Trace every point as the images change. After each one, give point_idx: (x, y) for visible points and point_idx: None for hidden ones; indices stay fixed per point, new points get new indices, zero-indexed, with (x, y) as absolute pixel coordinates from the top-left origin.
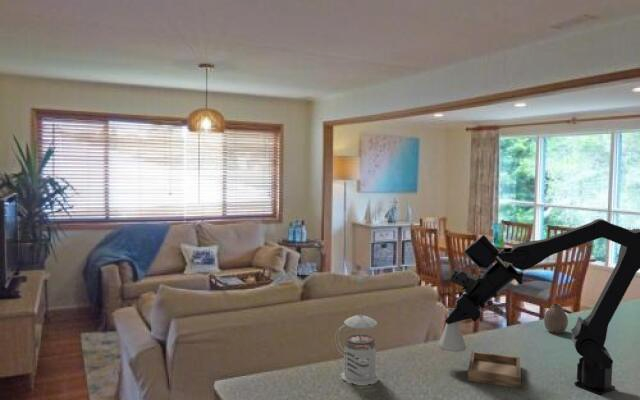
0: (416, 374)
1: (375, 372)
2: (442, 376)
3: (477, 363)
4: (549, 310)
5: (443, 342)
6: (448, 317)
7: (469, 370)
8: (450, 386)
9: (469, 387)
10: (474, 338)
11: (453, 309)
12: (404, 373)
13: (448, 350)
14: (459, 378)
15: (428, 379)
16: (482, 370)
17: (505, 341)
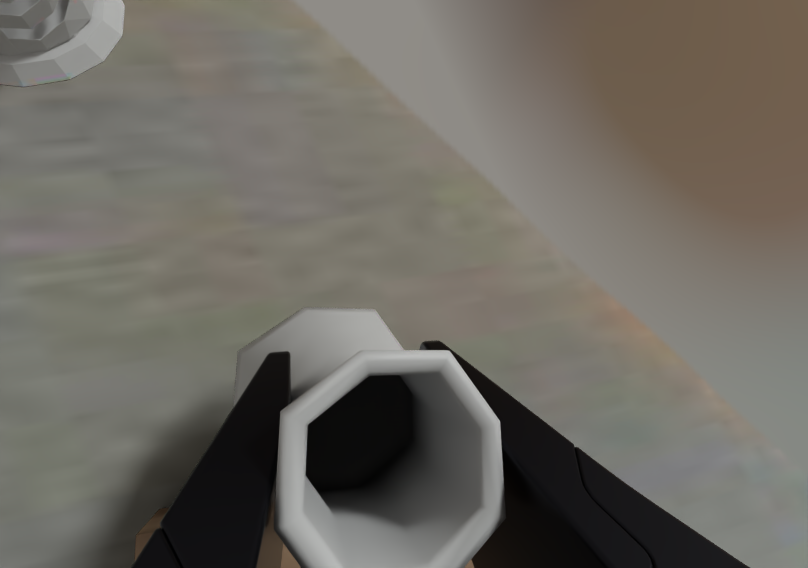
0: (152, 243)
1: (59, 55)
2: (172, 369)
3: None
4: None
5: (260, 348)
6: (236, 406)
7: (136, 545)
8: (26, 440)
9: (47, 547)
10: (683, 408)
11: (473, 454)
12: (144, 189)
13: (234, 391)
14: (176, 458)
15: (99, 309)
16: (293, 566)
17: (718, 541)
